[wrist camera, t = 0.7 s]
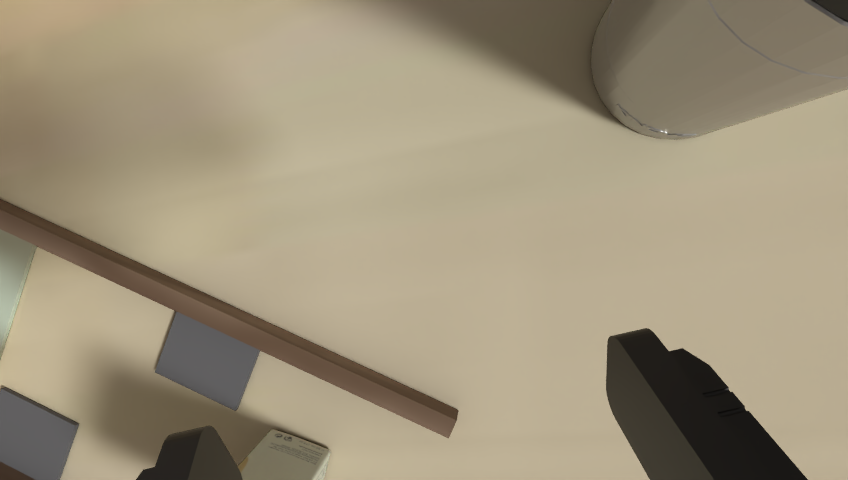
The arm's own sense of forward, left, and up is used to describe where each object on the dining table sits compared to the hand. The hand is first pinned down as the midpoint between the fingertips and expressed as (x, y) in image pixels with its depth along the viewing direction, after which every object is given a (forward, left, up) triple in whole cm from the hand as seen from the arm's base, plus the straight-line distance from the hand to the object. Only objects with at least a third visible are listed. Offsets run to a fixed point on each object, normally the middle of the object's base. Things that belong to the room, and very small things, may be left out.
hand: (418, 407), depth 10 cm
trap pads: (+17, -17, -20) cm, 32 cm away
